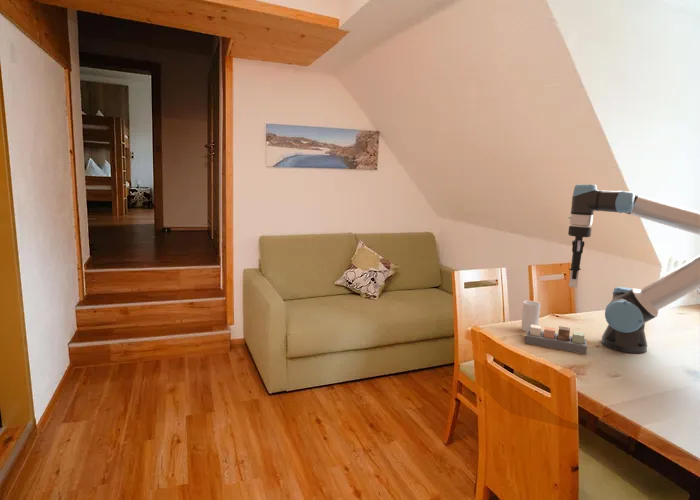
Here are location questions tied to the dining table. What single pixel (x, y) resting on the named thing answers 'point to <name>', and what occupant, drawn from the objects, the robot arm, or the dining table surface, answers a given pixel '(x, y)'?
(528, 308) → the mug
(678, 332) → the dining table surface
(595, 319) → the dining table surface
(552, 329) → the key terracotta
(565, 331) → the key walnut
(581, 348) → the grey slotted rack
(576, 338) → the key sage
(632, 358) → the dining table surface
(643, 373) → the dining table surface
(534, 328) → the key ivory
